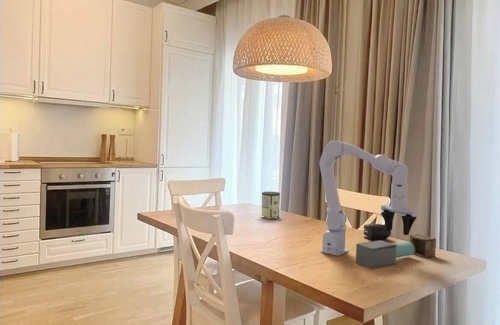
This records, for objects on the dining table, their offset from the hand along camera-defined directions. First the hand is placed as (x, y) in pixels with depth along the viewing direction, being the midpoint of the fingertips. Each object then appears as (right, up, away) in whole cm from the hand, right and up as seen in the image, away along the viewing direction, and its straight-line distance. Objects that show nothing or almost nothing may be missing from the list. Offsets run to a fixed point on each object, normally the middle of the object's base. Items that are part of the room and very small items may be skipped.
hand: (397, 232), depth 144 cm
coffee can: (-43, -5, +78) cm, 89 cm away
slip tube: (-4, -9, -2) cm, 10 cm away
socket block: (+13, -10, +8) cm, 18 cm away
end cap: (+3, -9, +32) cm, 33 cm away
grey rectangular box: (-10, -10, -5) cm, 15 cm away
